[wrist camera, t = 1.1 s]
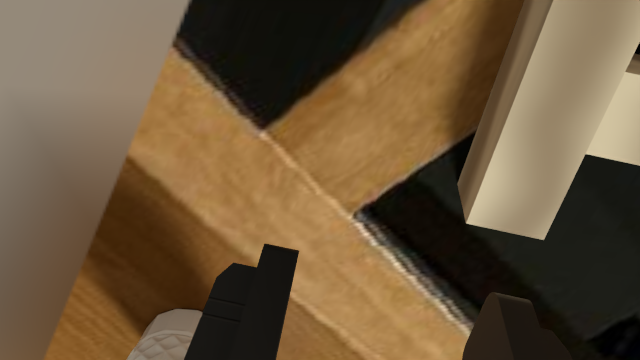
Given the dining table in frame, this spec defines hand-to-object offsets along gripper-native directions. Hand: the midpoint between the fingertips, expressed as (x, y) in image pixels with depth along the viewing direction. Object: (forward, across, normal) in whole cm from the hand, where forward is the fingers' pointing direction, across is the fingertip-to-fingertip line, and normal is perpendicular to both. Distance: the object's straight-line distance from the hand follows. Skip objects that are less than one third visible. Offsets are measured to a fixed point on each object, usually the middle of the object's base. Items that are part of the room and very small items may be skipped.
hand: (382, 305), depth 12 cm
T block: (+19, -12, 0) cm, 23 cm away
